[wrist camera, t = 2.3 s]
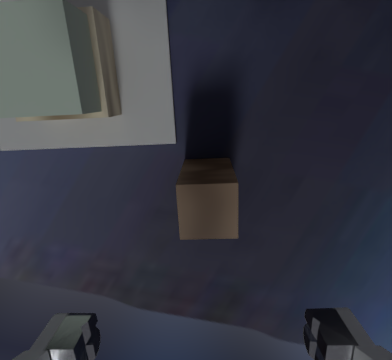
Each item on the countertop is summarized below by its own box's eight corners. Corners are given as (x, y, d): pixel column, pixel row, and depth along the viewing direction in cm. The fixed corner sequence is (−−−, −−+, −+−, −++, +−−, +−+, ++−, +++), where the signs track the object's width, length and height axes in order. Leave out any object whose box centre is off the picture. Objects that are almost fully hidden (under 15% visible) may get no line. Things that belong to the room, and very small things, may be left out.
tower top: (86, 14, 19) (61, -3, 16) (101, 111, 21) (82, 114, 18) (-3, 20, 20) (-46, 5, 16) (20, 115, 22) (-14, 118, 19)
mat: (164, -25, 22) (163, -27, 21) (176, 142, 26) (175, 143, 26) (-40, -9, 23) (-45, -11, 22) (3, 149, 27) (0, 150, 27)
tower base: (109, 19, 22) (92, 6, 19) (121, 114, 25) (108, 117, 22) (20, 25, 23) (-12, 13, 20) (41, 118, 25) (16, 121, 22)
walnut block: (229, 157, 26) (238, 183, 19) (229, 199, 28) (238, 238, 20) (184, 159, 26) (175, 184, 19) (187, 200, 28) (179, 239, 20)
